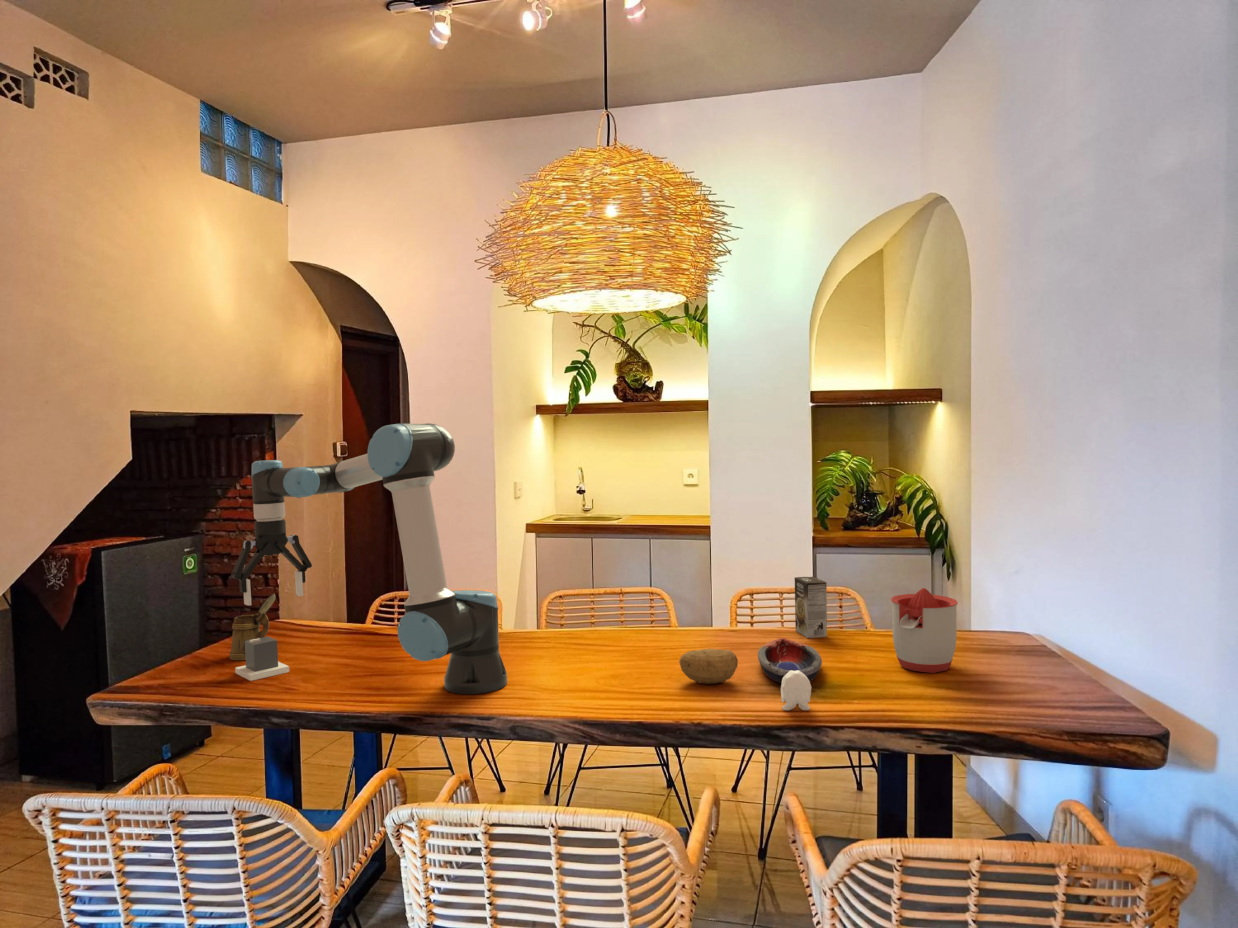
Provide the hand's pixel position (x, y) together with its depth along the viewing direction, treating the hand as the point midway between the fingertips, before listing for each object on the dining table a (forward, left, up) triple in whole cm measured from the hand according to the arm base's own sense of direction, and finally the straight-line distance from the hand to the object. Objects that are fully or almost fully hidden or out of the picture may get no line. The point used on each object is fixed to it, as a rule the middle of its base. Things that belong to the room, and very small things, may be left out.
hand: (274, 600), depth 216 cm
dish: (-101, -87, -20) cm, 134 cm away
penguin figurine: (-116, -66, -19) cm, 135 cm away
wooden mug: (+20, -2, -19) cm, 28 cm away
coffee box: (-86, -121, -19) cm, 149 cm away
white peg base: (+2, +3, -19) cm, 19 cm away
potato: (-92, -66, -19) cm, 115 cm away
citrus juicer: (-125, -110, -19) cm, 167 cm away
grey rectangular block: (+2, +3, -18) cm, 18 cm away
